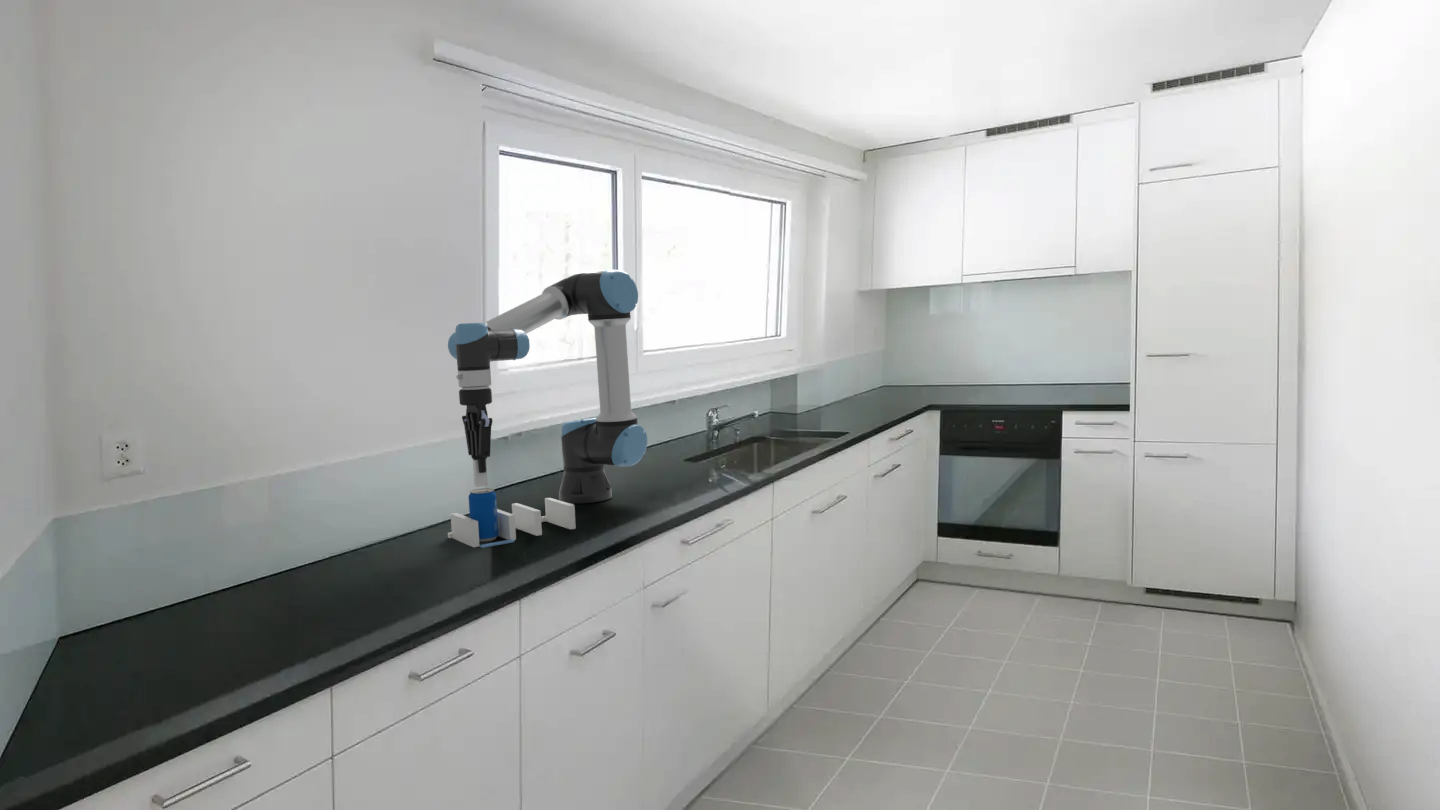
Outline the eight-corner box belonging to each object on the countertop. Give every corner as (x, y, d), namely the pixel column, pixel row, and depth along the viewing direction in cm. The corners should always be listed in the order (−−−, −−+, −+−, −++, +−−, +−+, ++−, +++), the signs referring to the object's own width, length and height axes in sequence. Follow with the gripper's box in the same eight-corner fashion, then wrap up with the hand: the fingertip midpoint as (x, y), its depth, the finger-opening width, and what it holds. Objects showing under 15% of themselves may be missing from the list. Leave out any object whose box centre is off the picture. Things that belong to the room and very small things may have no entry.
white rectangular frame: (551, 519, 254) (550, 496, 253) (578, 528, 242) (576, 504, 242) (448, 537, 237) (446, 513, 237) (470, 547, 226) (469, 522, 225)
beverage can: (491, 542, 230) (488, 492, 229) (466, 542, 232) (463, 492, 230) (503, 536, 237) (500, 487, 235) (478, 536, 238) (475, 487, 237)
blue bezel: (511, 540, 231) (511, 539, 231) (514, 541, 230) (514, 540, 230) (479, 546, 227) (479, 545, 227) (482, 547, 225) (482, 546, 225)
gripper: (449, 388, 234) (456, 484, 236) (470, 390, 223) (476, 491, 225) (479, 385, 238) (485, 480, 240) (501, 387, 227) (507, 486, 230)
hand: (481, 485), depth 233 cm, fingers closed
